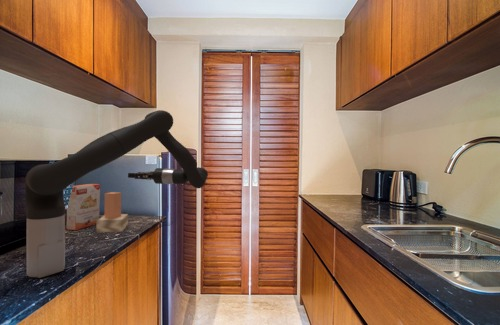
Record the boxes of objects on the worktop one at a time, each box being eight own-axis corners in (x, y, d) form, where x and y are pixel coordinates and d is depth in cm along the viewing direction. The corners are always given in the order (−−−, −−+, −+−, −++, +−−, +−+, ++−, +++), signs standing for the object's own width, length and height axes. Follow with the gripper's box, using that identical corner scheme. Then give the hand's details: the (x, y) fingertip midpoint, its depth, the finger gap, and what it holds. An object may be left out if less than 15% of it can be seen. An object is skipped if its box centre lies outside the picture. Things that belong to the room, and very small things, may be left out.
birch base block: (127, 225, 127) (128, 214, 126) (122, 231, 116) (122, 219, 116) (104, 226, 124) (104, 214, 124) (96, 233, 113) (96, 220, 113)
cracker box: (76, 231, 114) (76, 186, 114) (65, 230, 116) (66, 186, 115) (100, 223, 128) (100, 183, 128) (90, 222, 129) (90, 183, 129)
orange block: (120, 216, 121) (121, 192, 121) (113, 218, 116) (113, 194, 116) (112, 215, 122) (112, 191, 122) (104, 218, 117) (104, 193, 117)
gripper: (171, 168, 124) (141, 166, 125) (159, 168, 110) (125, 167, 111) (171, 182, 124) (140, 181, 125) (158, 185, 110) (124, 183, 111)
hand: (133, 174), depth 118 cm, fingers open, 8 cm apart
